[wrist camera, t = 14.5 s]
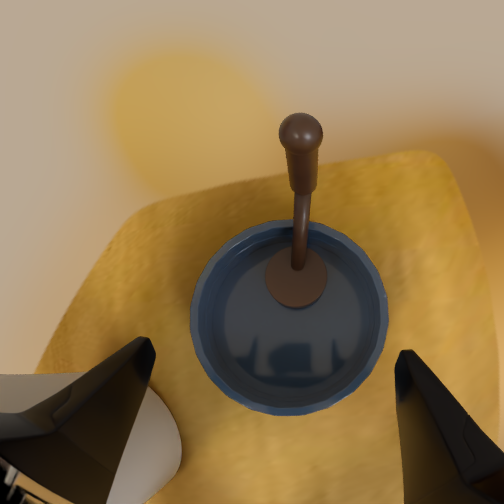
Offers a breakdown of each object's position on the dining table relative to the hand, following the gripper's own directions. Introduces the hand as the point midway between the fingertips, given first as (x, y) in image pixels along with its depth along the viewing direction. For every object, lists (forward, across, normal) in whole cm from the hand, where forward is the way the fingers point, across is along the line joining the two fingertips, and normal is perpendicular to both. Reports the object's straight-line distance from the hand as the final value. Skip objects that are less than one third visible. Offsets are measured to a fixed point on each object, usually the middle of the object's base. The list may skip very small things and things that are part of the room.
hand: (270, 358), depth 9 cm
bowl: (+10, 0, +8) cm, 13 cm away
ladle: (+13, -1, +4) cm, 13 cm away
